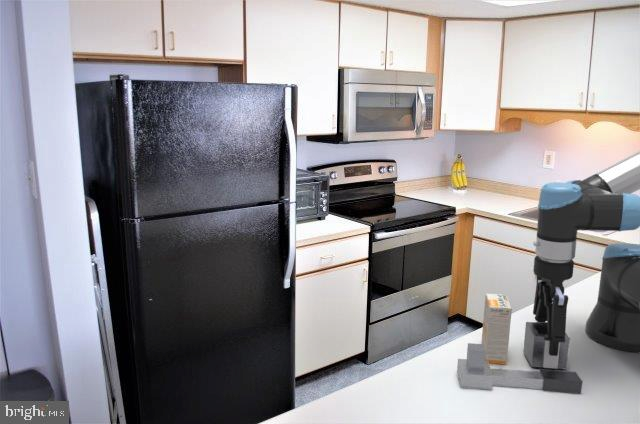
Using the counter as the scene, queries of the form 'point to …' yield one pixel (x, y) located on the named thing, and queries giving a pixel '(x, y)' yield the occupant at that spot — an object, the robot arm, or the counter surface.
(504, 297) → the supplement box
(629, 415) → the counter surface
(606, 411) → the counter surface
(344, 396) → the counter surface
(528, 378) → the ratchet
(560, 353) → the hollow square tube
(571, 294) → the counter surface
